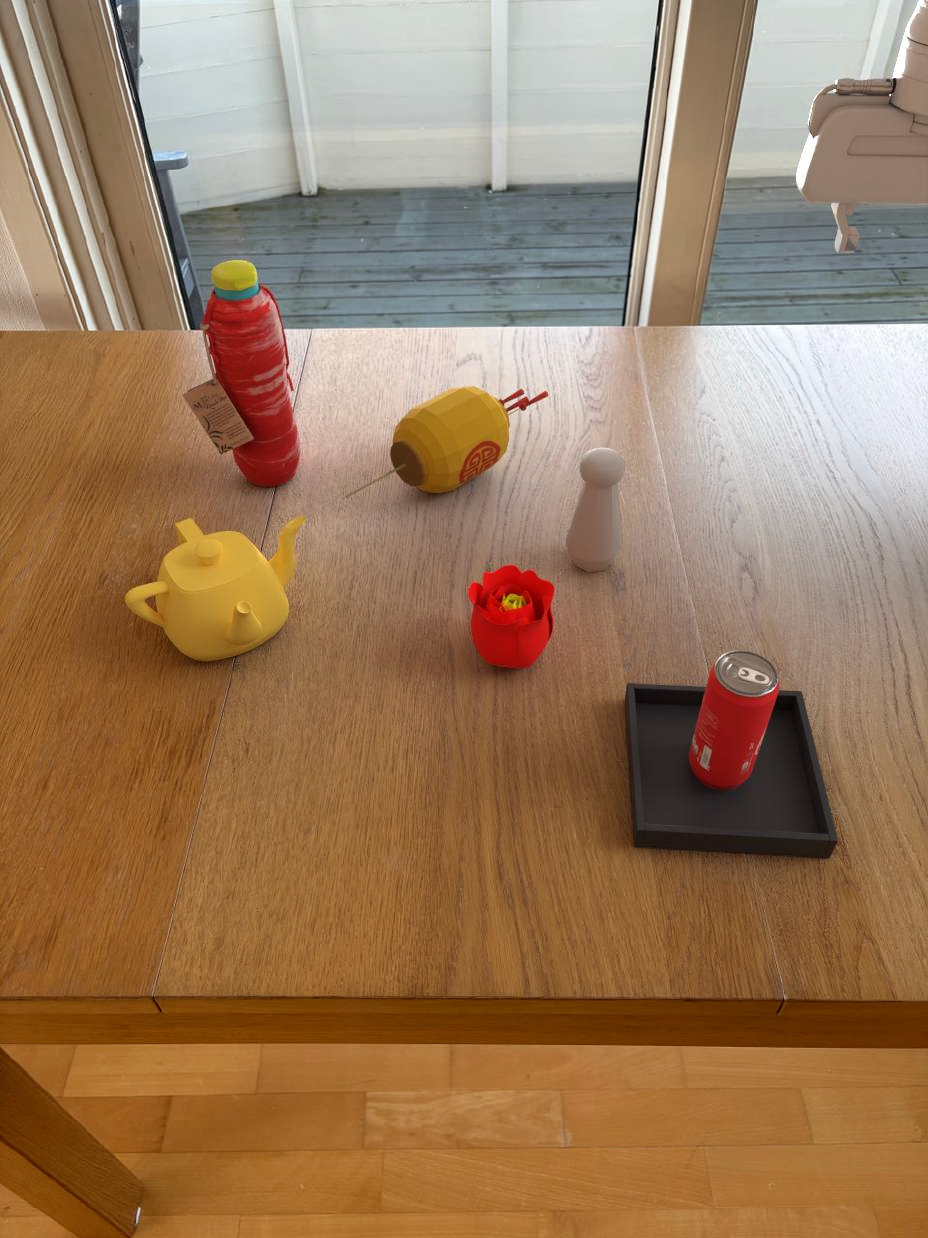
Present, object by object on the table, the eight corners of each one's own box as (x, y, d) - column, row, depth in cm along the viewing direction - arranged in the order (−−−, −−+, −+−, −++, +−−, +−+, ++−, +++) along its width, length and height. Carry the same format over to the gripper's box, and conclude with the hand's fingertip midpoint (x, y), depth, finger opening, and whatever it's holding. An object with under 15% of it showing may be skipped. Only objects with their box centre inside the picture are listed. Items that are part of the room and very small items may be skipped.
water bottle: (235, 516, 105) (186, 303, 88) (198, 484, 110) (144, 275, 92) (323, 473, 111) (294, 265, 93) (285, 444, 115) (250, 240, 98)
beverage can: (696, 736, 82) (721, 639, 74) (756, 757, 80) (789, 660, 72) (679, 781, 79) (703, 684, 70) (741, 803, 77) (773, 708, 69)
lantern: (519, 334, 112) (319, 434, 97) (579, 380, 109) (381, 492, 94) (504, 399, 120) (316, 501, 105) (559, 444, 117) (373, 556, 102)
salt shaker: (626, 574, 98) (641, 470, 89) (572, 581, 97) (582, 476, 88) (610, 538, 102) (624, 436, 93) (558, 544, 101) (567, 442, 92)
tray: (795, 709, 85) (802, 690, 83) (829, 858, 74) (838, 841, 72) (624, 701, 86) (627, 682, 84) (633, 847, 75) (637, 829, 73)
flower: (458, 636, 92) (456, 574, 86) (530, 615, 94) (534, 553, 88) (489, 693, 86) (490, 631, 81) (566, 669, 88) (572, 607, 83)
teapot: (265, 687, 87) (247, 609, 80) (133, 661, 90) (105, 583, 83) (318, 588, 97) (307, 511, 90) (198, 567, 99) (177, 491, 92)
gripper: (826, 89, 74) (785, 264, 83) (1099, 92, 72) (1026, 268, 82) (810, 66, 78) (773, 234, 88) (1067, 68, 77) (1001, 238, 87)
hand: (897, 251), depth 85 cm, fingers open, 8 cm apart
